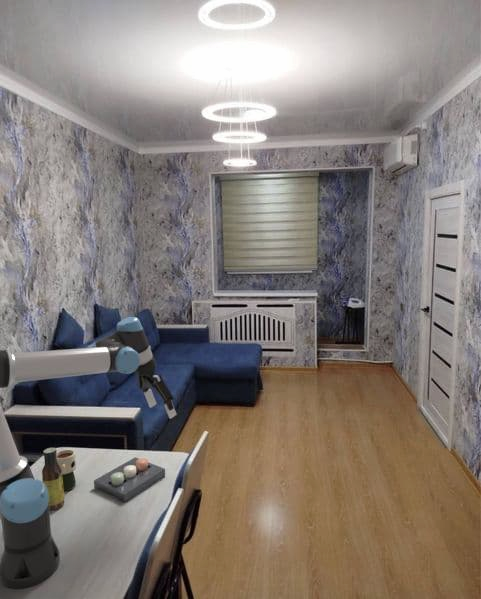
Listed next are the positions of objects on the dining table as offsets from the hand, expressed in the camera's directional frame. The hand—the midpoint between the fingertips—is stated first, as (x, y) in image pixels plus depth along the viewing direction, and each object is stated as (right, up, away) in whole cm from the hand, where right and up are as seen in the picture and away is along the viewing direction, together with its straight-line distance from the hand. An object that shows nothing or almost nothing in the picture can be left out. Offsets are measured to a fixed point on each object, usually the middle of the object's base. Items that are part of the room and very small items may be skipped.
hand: (162, 410), depth 160 cm
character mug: (-35, -29, +3) cm, 46 cm away
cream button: (-13, -26, +5) cm, 29 cm away
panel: (-13, -28, +6) cm, 31 cm away
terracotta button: (-10, -25, +10) cm, 29 cm away
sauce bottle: (-35, -30, -8) cm, 47 cm away
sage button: (-16, -27, 0) cm, 31 cm away
